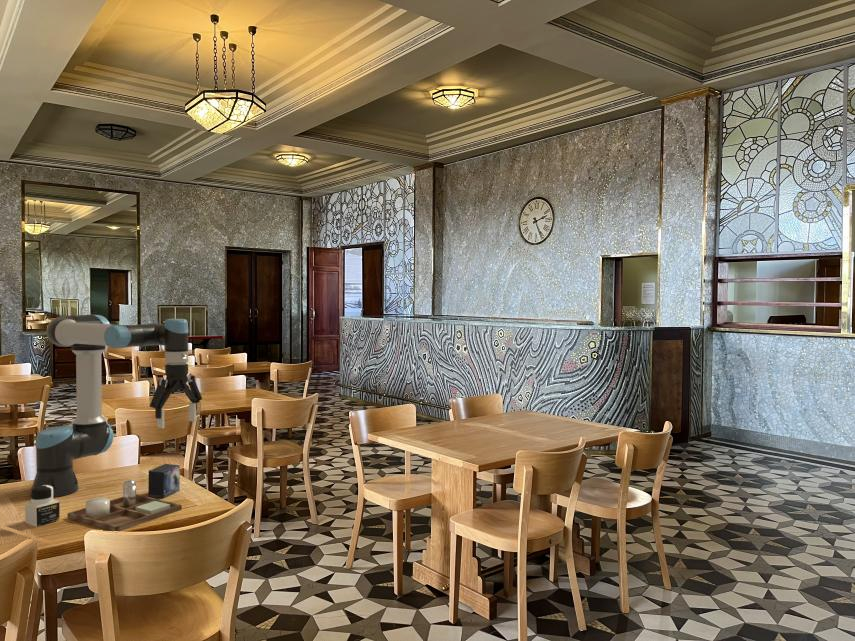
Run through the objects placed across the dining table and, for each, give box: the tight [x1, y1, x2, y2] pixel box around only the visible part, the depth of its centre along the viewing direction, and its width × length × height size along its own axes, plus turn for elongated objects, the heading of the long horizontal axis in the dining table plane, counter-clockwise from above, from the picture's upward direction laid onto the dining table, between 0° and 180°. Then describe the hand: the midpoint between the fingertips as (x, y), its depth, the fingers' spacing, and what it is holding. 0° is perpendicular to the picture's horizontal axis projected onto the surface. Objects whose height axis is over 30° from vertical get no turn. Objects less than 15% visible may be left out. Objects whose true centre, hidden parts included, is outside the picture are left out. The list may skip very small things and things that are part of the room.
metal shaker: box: [122, 479, 137, 508], centre depth 224 cm, size 4×4×9 cm
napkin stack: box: [136, 501, 170, 515], centre depth 219 cm, size 8×8×2 cm
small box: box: [147, 463, 181, 500], centre depth 238 cm, size 11×6×10 cm, turn 168°
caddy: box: [67, 493, 183, 532], centre depth 217 cm, size 24×24×2 cm
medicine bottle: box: [24, 485, 61, 528], centre depth 208 cm, size 7×7×12 cm
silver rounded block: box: [85, 496, 110, 519], centre depth 214 cm, size 7×7×5 cm
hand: (177, 424), depth 229 cm, fingers open, 13 cm apart
